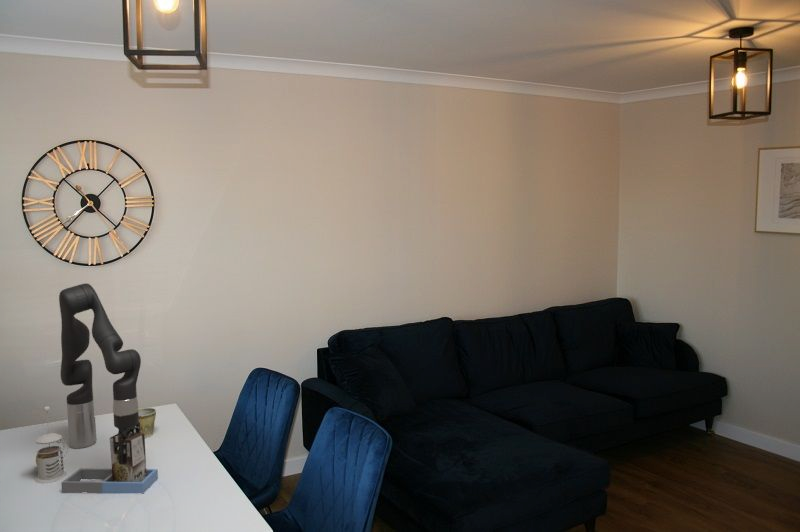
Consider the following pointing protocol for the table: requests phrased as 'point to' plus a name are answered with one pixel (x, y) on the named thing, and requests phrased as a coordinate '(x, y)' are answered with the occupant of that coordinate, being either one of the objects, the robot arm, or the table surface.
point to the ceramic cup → (147, 421)
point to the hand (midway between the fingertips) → (128, 459)
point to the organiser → (105, 482)
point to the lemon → (42, 457)
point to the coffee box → (130, 460)
